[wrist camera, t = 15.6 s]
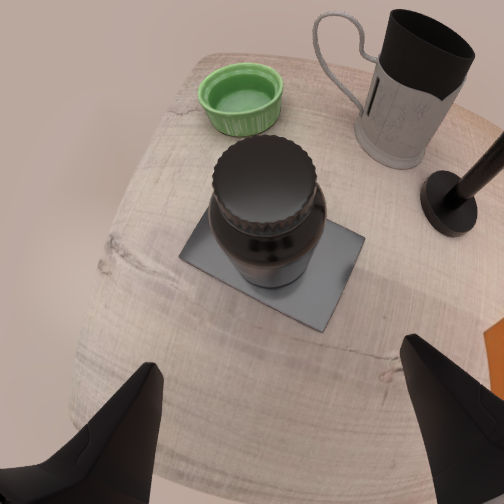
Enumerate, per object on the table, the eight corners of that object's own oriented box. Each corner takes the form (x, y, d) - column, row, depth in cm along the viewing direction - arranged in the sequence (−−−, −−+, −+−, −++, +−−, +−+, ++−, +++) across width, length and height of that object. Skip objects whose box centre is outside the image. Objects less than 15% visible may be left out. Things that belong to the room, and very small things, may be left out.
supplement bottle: (227, 286, 23) (173, 241, 11) (236, 210, 25) (201, 119, 13) (310, 292, 22) (340, 251, 11) (313, 214, 24) (334, 121, 12)
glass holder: (423, 180, 24) (493, 82, 10) (298, 138, 27) (301, 11, 13) (424, 125, 26) (468, 34, 12) (316, 89, 29) (322, -16, 15)
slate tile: (321, 332, 22) (322, 333, 21) (180, 258, 25) (178, 256, 24) (363, 239, 23) (365, 237, 23) (228, 178, 26) (227, 175, 26)
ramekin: (252, 80, 30) (248, 54, 26) (300, 115, 28) (302, 87, 24) (193, 113, 30) (182, 87, 25) (235, 155, 27) (227, 128, 23)
